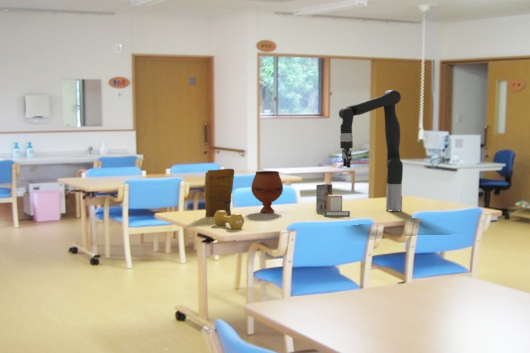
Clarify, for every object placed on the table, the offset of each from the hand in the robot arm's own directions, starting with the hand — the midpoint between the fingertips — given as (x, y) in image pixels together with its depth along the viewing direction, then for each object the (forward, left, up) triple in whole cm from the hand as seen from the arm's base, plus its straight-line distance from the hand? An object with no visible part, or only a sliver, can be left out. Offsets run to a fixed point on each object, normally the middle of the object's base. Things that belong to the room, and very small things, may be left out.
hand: (346, 167), depth 453 cm
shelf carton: (+9, +8, -27) cm, 30 cm away
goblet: (+49, -2, -28) cm, 56 cm away
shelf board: (+9, +10, -28) cm, 31 cm away
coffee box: (+12, -10, -28) cm, 32 cm away
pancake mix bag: (+79, +13, -28) cm, 85 cm away
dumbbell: (+75, +50, -28) cm, 95 cm away
